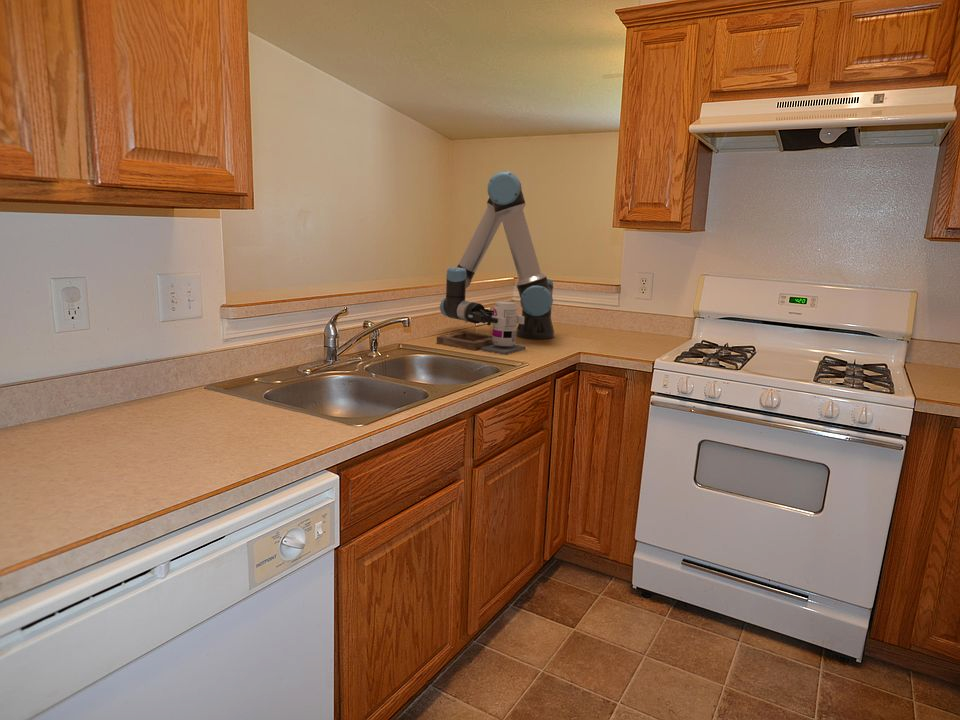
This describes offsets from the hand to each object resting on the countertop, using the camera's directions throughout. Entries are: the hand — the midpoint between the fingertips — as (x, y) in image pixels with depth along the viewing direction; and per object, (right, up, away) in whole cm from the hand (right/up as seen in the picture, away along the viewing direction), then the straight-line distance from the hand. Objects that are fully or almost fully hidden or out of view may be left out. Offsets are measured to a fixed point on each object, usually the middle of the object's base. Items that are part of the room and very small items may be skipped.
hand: (514, 321), depth 219 cm
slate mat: (-4, -10, +6) cm, 12 cm away
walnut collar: (-16, -7, +14) cm, 22 cm away
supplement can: (-4, -8, +5) cm, 10 cm away
